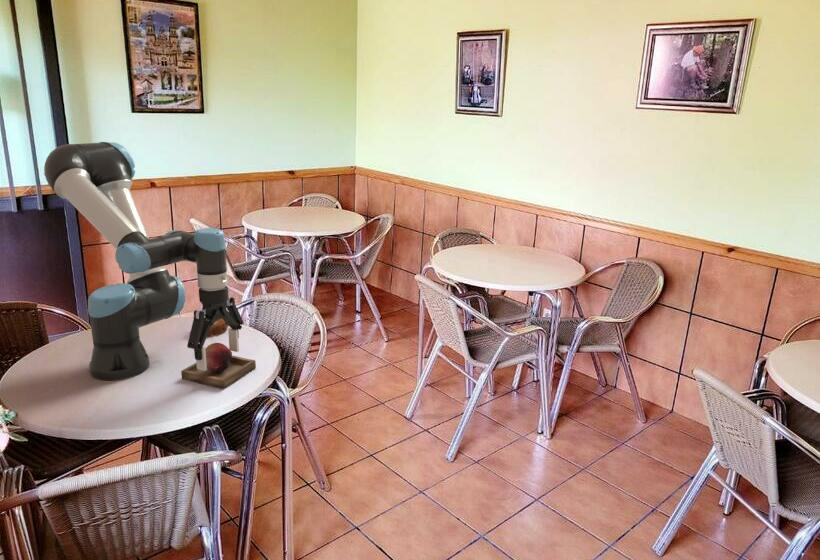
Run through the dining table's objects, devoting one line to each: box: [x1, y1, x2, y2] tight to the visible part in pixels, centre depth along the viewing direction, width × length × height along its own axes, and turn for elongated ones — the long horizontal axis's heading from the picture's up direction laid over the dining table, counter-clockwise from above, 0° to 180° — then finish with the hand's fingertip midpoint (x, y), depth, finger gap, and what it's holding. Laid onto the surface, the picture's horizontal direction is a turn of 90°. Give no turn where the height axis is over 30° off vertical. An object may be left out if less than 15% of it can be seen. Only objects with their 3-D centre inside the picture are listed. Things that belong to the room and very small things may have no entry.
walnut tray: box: [180, 355, 257, 390], centre depth 167 cm, size 14×14×2 cm
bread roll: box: [206, 318, 229, 338], centre depth 196 cm, size 10×10×8 cm
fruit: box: [205, 342, 233, 372], centre depth 165 cm, size 8×8×8 cm
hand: (218, 359), depth 166 cm, fingers open, 13 cm apart
